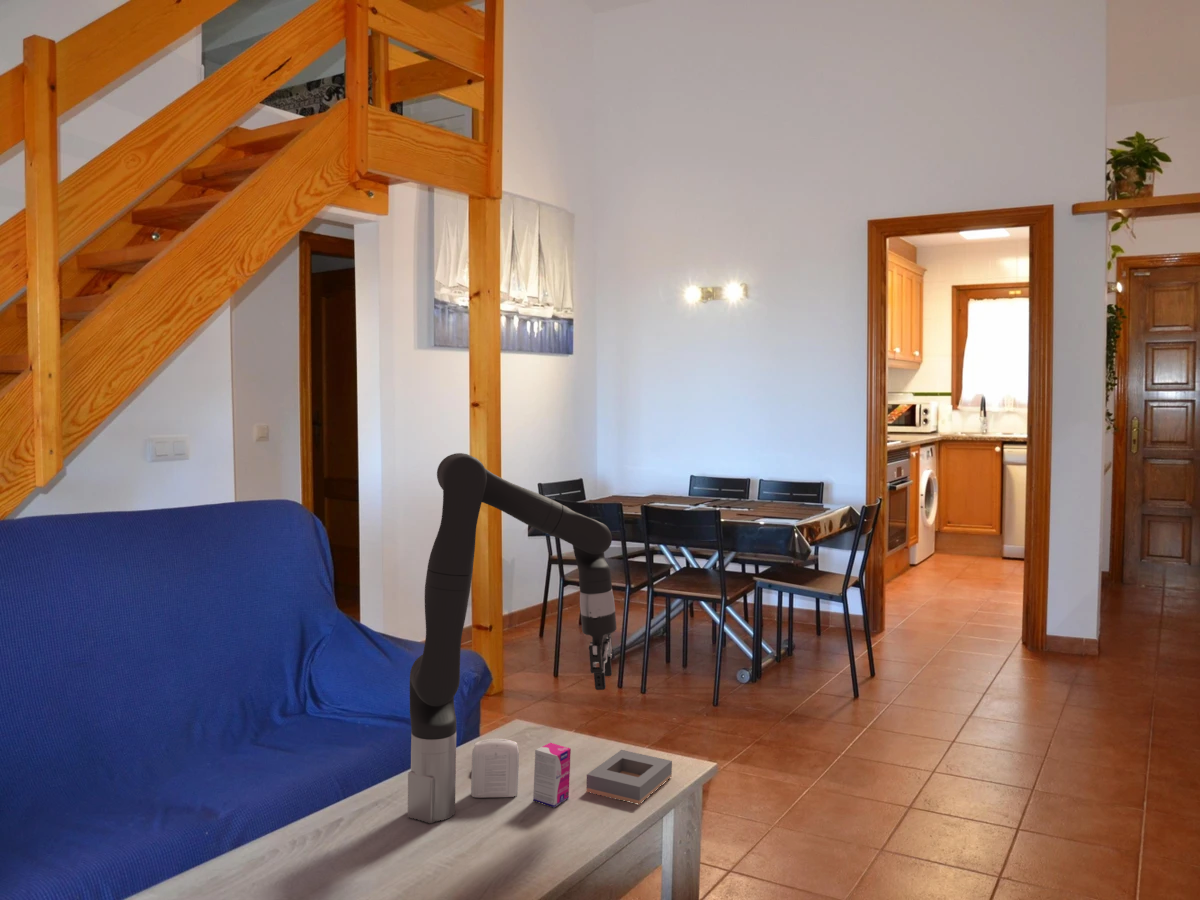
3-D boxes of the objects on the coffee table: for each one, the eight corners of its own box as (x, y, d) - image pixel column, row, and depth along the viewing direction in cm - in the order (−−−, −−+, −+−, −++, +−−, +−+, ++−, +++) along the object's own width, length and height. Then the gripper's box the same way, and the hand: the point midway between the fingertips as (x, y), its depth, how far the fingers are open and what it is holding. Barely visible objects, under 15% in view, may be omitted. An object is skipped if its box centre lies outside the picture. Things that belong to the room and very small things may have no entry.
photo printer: (517, 790, 215) (518, 735, 214) (518, 798, 211) (519, 742, 210) (470, 791, 214) (471, 736, 213) (471, 799, 210) (471, 743, 209)
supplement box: (555, 808, 206) (556, 755, 205) (532, 801, 209) (533, 749, 209) (570, 798, 211) (571, 747, 210) (547, 792, 214) (548, 741, 214)
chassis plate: (639, 805, 209) (639, 787, 208) (586, 792, 215) (586, 774, 215) (671, 777, 224) (671, 760, 223) (621, 766, 230) (621, 749, 230)
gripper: (586, 602, 219) (592, 671, 221) (574, 620, 205) (580, 694, 207) (619, 601, 218) (625, 671, 220) (609, 619, 204) (615, 693, 206)
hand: (603, 682), depth 213 cm, fingers open, 8 cm apart
